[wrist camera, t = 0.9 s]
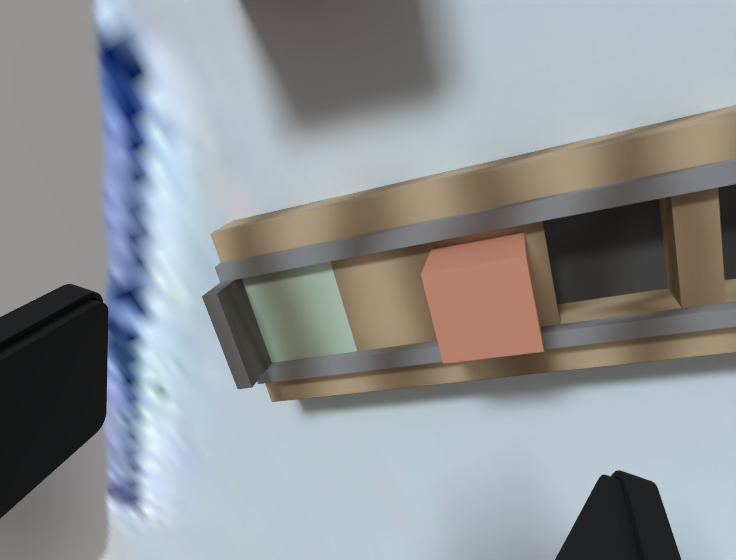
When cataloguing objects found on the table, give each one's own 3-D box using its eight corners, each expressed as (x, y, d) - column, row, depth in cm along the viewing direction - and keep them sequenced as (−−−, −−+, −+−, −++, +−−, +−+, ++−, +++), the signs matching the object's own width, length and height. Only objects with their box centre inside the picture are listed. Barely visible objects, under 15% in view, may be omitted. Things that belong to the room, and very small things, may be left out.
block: (523, 231, 29) (525, 256, 25) (539, 316, 30) (543, 351, 26) (431, 248, 30) (420, 274, 27) (450, 329, 32) (443, 363, 28)
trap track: (862, 76, 25) (957, 80, 20) (859, 309, 29) (939, 365, 24) (233, 220, 36) (183, 249, 30) (288, 378, 39) (253, 429, 34)
